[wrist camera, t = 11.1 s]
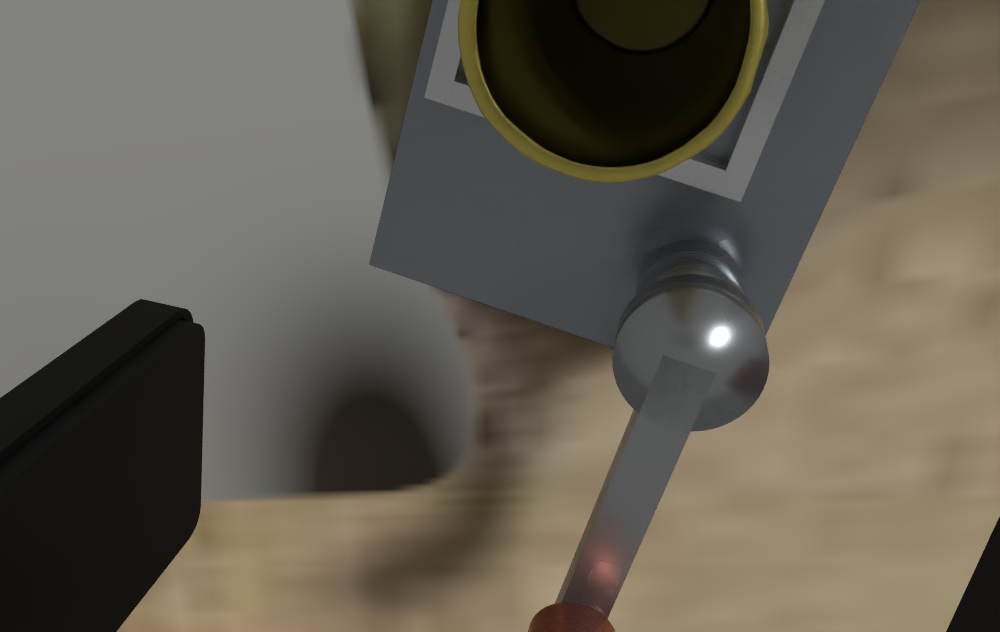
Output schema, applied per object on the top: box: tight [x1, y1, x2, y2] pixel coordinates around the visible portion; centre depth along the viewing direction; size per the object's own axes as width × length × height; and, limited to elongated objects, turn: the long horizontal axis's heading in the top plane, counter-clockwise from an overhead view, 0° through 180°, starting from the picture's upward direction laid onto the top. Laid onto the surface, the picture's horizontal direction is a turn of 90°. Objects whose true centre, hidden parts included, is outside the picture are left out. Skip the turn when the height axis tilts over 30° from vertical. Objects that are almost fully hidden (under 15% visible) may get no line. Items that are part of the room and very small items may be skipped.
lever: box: [528, 274, 769, 632], centre depth 28 cm, size 15×4×6 cm, turn 164°
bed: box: [369, 0, 920, 348], centre depth 28 cm, size 18×14×5 cm
